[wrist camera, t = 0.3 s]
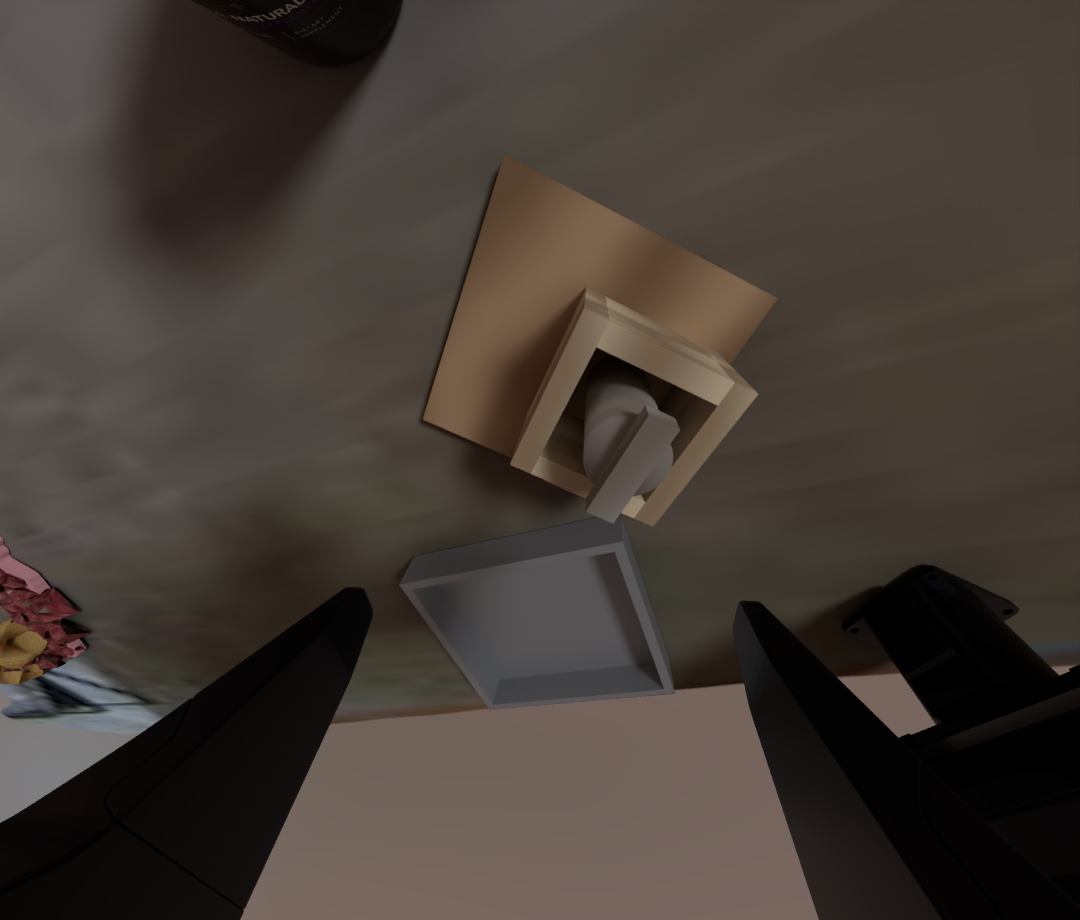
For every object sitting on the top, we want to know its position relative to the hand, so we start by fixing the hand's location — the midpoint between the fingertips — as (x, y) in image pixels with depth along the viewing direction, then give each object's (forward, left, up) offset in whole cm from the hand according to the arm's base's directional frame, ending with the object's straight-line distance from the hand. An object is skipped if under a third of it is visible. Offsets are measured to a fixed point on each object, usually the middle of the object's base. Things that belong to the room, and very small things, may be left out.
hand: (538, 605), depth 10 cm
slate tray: (-6, +15, -13) cm, 20 cm away
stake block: (0, -2, -13) cm, 13 cm away
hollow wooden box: (-2, -2, -12) cm, 12 cm away
